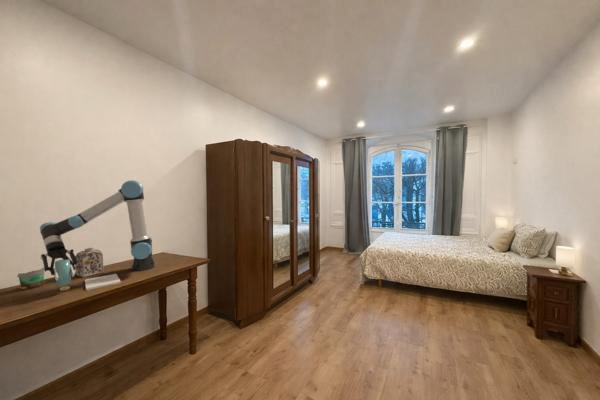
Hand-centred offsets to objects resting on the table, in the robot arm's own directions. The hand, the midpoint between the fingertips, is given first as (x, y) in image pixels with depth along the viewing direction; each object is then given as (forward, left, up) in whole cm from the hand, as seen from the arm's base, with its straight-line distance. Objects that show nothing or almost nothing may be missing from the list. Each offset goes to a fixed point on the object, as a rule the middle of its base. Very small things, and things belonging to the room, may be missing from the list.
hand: (65, 276), depth 134 cm
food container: (+14, -27, -10) cm, 32 cm away
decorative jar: (-11, -36, -10) cm, 39 cm away
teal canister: (+1, -4, -4) cm, 6 cm away
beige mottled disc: (+1, -10, -10) cm, 14 cm away
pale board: (-16, -8, -10) cm, 21 cm away
